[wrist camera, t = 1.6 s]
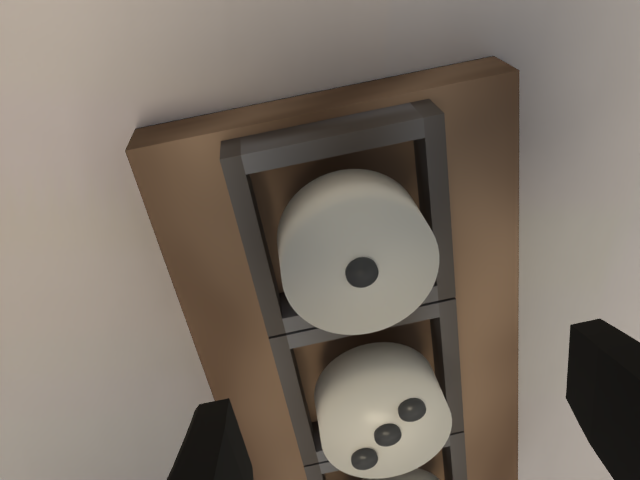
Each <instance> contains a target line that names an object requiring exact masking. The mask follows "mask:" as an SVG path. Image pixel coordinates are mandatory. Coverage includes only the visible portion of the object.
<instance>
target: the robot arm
mask: <svg viewBox="0 0 640 480" xmlns="http://www.w3.org/2000/svg"><path fill="white" fill-rule="evenodd" d="M566 399H567V401H568V403H569V405H570V407H571V409H572V411H573V413H574V415H575V417H576V419H577V421H578V423H579V425H580V426H581V428H582V430H583V432H584V434H585V436H586V438H587V440H588V441H589V443H590V445H591V446H592V448H593V449H594V451H595V452H596V454H597V455H598V457H599V458H600V460H601V461H602V463H603V464H604V466H605V467H606V469H607V470H608V472H609V473H610V474H611V476H612V477H613V479H614V480H640V342H638V341H636V340H635V339H633V338H632V337H630V336H628V335H627V334H625V333H623V332H622V331H620V330H618V329H617V328H615V327H613V326H612V325H610V324H608V323H607V322H605V321H603V320H601V319H596V320H591V321H587V322H582V323H577V324H573V325H571V326H570V342H569V358H568V374H567V390H566ZM167 480H254V479H253V468H252V464H251V461H250V458H249V455H248V452H247V449H246V446H245V443H244V440H243V437H242V434H241V431H240V428H239V425H238V422H237V419H236V416H235V413H234V411H233V408H232V405H231V402H230V399H229V398H227V399H223V400H218V401H213V402H209V403H204V404H199V406H198V407H197V408H196V410H195V412H194V415H193V417H192V420H191V423H190V425H189V428H188V431H187V433H186V436H185V438H184V441H183V443H182V446H181V448H180V451H179V453H178V455H177V458H176V460H175V462H174V465H173V467H172V469H171V472H170V474H169V476H168V478H167Z"/></svg>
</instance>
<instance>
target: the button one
mask: <svg viewBox="0 0 640 480" xmlns="http://www.w3.org/2000/svg"><path fill="white" fill-rule="evenodd" d="M277 246H278V255H279V263H280V271H281V279H282V286H283V290H284V293H285V296H286V298H287V300H288V302H289V304H290V305H291V306H292V308H293V309H294V311H295V312H296V313H297V314H298V315H299V316H300V317H301V318H303V319H304V320H305V321H307V322H308V323H310V324H311V325H313V326H315V327H317V328H319V329H322V330H324V331H328V332H331V333H336V334H343V335H360V334H367V333H373V332H376V331H380V330H383V329H385V328H388V327H391V326H393V325H395V324H396V323H398V322H400V321H402V320H403V319H405V318H406V317H408V316H409V315H410V314H411V313H413V312H414V311H415V310H416V309H417V308H418V307H419V306H420V305H421V304H422V303H423V301H424V300H425V299H426V298H427V296H428V294H429V293H430V291H431V290H432V288H433V285H434V283H435V281H436V277H437V274H438V269H439V249H438V244H437V241H436V238H435V236H434V234H433V232H432V230H431V228H430V227H429V225H428V223H427V222H426V220H425V219H424V217H423V215H422V214H421V212H420V210H419V209H418V207H417V205H416V204H415V202H414V201H413V199H412V197H411V196H410V195H409V193H408V192H407V191H406V190H405V189H404V188H403V187H402V186H401V185H400V184H399V183H398V182H396V181H395V180H394V179H392V178H390V177H388V176H386V175H384V174H381V173H379V172H375V171H371V170H365V169H345V170H338V171H334V172H331V173H327V174H325V175H323V176H320V177H318V178H316V179H314V180H313V181H311V182H309V183H308V184H307V185H305V186H304V187H302V188H301V189H300V190H299V191H298V192H297V193H296V194H295V195H294V196H293V198H292V199H291V200H290V201H289V203H288V204H287V206H286V208H285V209H284V211H283V213H282V216H281V218H280V222H279V225H278V231H277Z"/></svg>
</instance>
